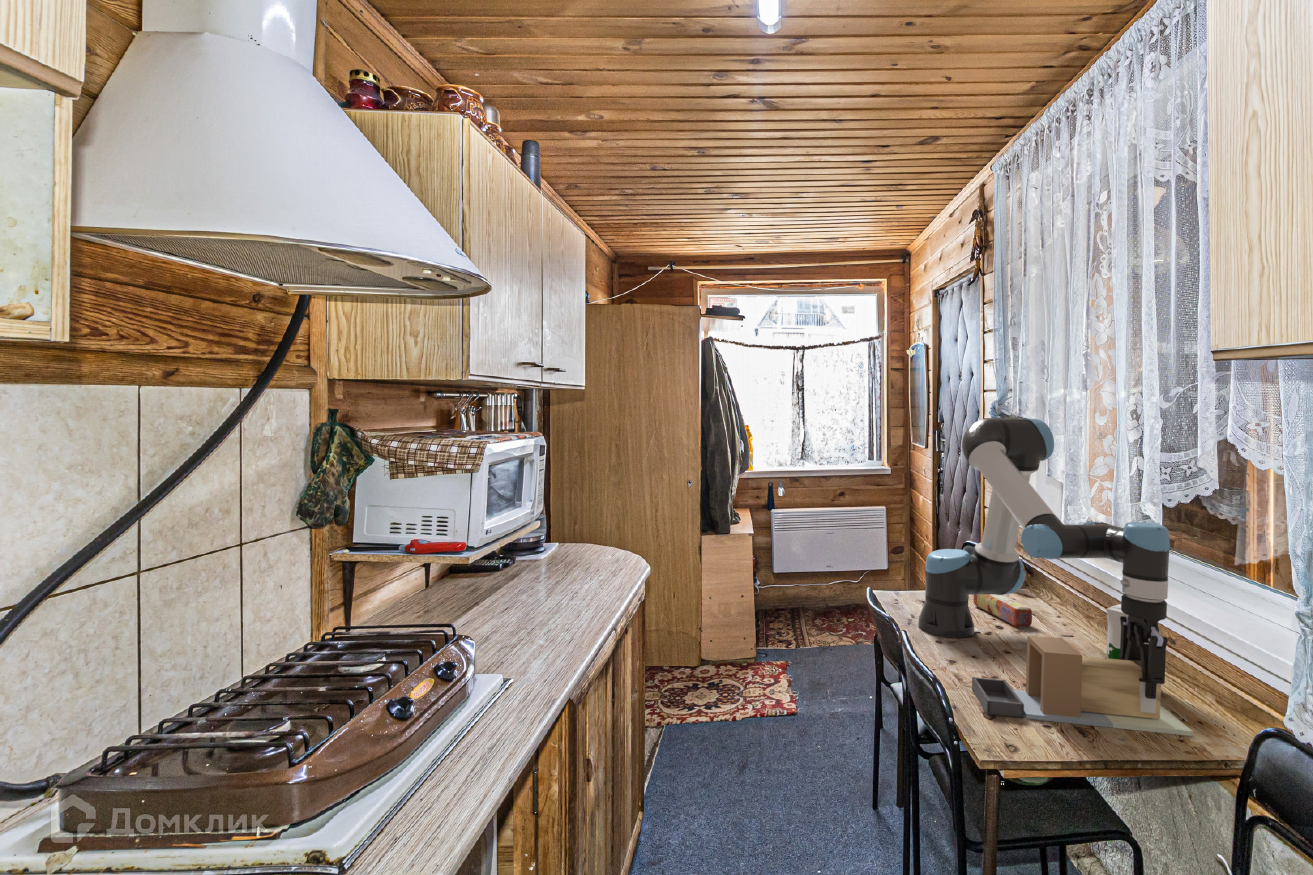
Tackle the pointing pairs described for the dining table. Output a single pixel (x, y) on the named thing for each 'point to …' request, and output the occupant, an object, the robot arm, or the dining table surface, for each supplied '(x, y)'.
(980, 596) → the snack package
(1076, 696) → the board
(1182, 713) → the dining table surface
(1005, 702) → the tray
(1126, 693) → the block
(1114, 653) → the milk carton
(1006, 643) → the dining table surface
